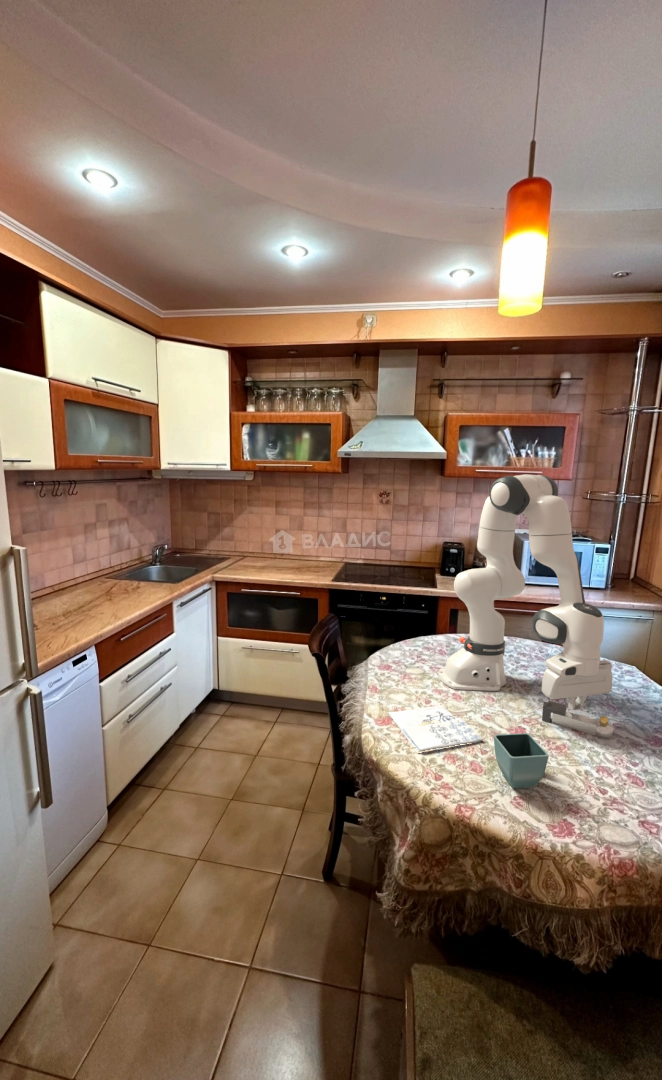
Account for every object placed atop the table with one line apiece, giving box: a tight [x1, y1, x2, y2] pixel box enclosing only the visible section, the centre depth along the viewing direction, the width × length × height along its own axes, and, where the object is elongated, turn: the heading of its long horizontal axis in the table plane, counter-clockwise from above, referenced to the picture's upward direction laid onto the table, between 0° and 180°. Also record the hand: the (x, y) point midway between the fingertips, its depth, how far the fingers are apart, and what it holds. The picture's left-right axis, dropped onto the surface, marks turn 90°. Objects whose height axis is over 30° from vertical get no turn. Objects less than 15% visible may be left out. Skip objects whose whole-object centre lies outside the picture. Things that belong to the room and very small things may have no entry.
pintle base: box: [541, 700, 610, 726], centre depth 120 cm, size 18×19×6 cm
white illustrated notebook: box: [387, 704, 484, 751], centre depth 121 cm, size 19×20×2 cm
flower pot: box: [493, 732, 550, 789], centre depth 99 cm, size 9×9×9 cm
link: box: [551, 711, 614, 740], centre depth 118 cm, size 14×4×3 cm, turn 54°
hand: (574, 708), depth 122 cm, fingers closed
